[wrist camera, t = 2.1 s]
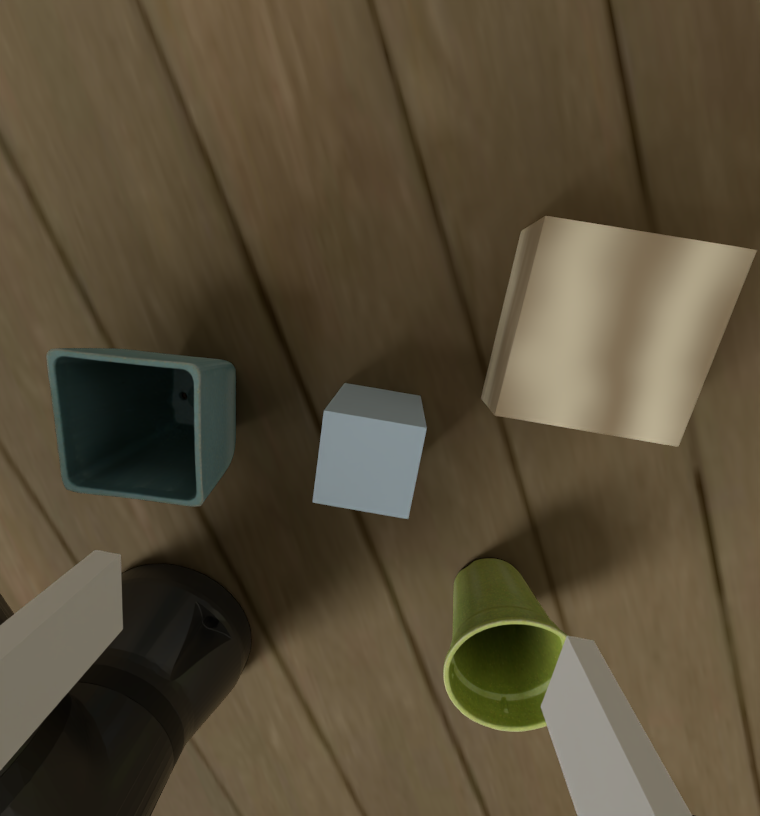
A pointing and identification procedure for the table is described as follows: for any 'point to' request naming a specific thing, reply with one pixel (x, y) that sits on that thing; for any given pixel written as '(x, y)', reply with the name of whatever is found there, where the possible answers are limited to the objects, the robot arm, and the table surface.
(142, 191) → the table surface
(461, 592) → the plant pot
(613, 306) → the birch block
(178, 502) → the flower pot
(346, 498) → the slate blue block
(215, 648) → the robot arm
